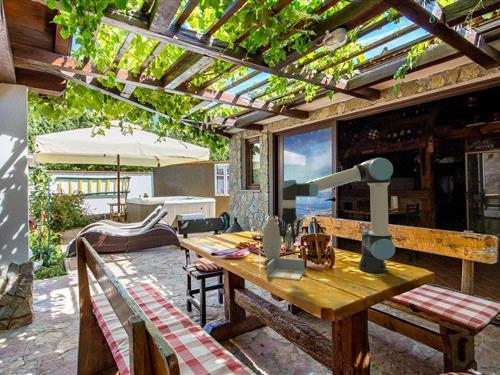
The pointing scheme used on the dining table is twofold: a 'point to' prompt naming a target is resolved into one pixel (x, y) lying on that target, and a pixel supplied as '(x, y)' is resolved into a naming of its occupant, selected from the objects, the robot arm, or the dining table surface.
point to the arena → (285, 268)
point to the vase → (272, 240)
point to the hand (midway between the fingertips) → (289, 248)
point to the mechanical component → (289, 238)
